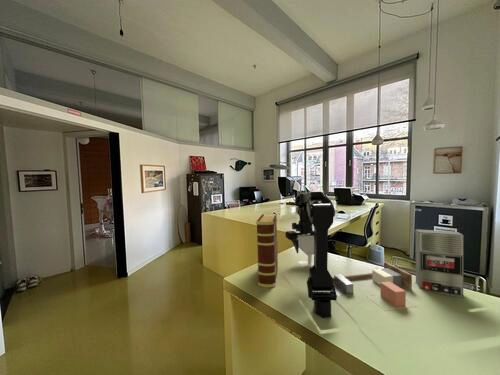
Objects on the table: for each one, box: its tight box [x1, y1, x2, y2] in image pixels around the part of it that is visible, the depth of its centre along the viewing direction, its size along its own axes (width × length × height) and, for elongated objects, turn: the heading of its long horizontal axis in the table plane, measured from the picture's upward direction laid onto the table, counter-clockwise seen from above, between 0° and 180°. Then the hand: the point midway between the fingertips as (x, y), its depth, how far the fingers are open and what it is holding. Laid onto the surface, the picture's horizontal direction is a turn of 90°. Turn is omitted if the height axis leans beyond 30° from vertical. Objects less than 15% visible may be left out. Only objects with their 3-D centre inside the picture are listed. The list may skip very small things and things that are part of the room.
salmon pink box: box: [380, 282, 407, 307], centre depth 76 cm, size 7×4×6 cm, turn 8°
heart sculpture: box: [297, 236, 314, 267], centre depth 115 cm, size 16×5×18 cm, turn 54°
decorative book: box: [255, 213, 279, 289], centre depth 102 cm, size 22×8×30 cm, turn 168°
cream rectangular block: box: [371, 268, 393, 287], centre depth 89 cm, size 7×4×6 cm, turn 8°
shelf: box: [332, 261, 413, 291], centre depth 88 cm, size 13×33×8 cm, turn 98°
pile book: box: [366, 294, 418, 312], centre depth 76 cm, size 9×13×2 cm
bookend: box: [333, 273, 354, 296], centre depth 86 cm, size 9×7×4 cm
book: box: [380, 268, 403, 288], centre depth 90 cm, size 7×4×6 cm, turn 8°
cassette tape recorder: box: [414, 229, 466, 299], centre depth 83 cm, size 14×6×25 cm, turn 64°
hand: (306, 252), depth 96 cm, fingers open, 9 cm apart
